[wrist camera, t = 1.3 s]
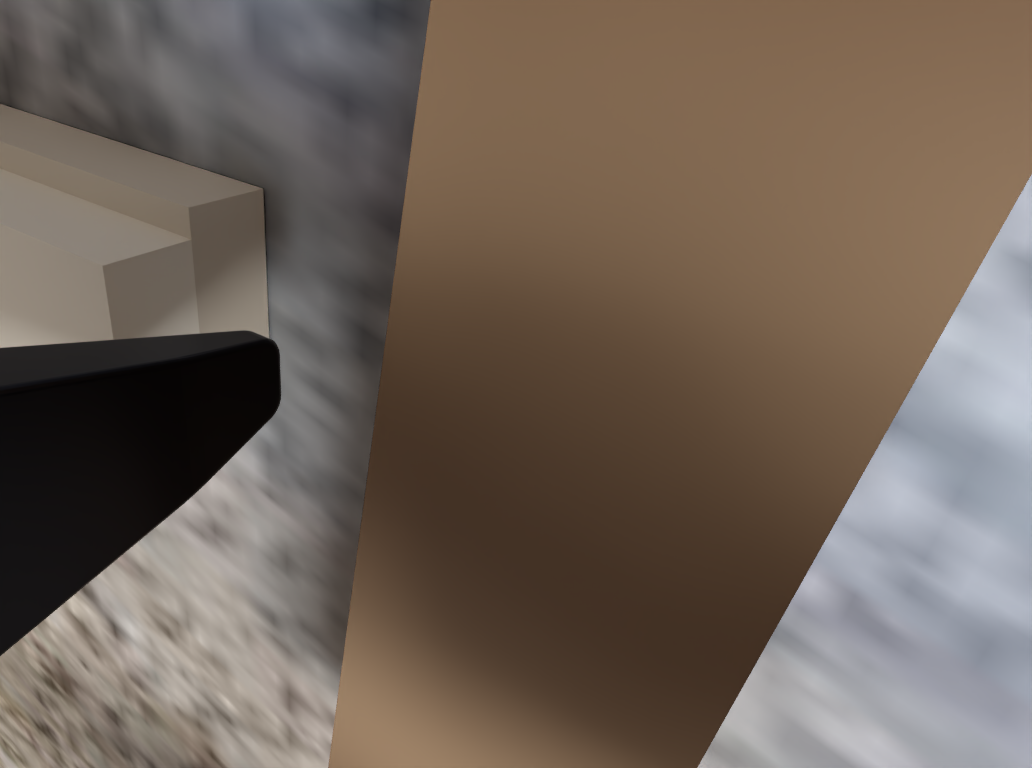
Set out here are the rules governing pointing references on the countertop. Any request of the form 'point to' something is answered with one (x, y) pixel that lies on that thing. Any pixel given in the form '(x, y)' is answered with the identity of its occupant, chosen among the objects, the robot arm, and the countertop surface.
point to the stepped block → (121, 241)
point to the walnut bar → (651, 350)
